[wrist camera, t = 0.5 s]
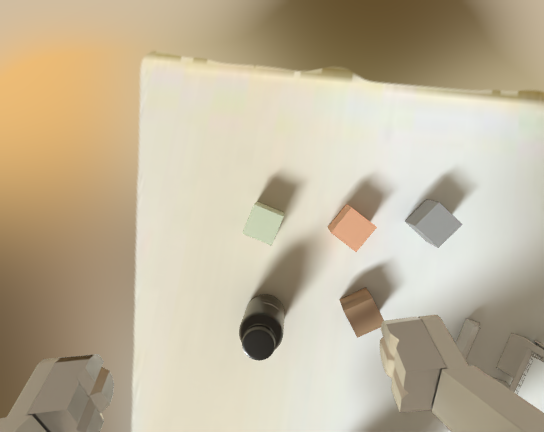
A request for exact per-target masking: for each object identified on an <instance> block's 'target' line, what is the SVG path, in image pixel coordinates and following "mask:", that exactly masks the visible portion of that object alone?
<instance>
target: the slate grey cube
mask: <svg viewBox="0 0 544 432" xmlns="http://www.w3.org/2000/svg"><path fill="white" fill-rule="evenodd" d="M405 222H406V223H407V224H408V225H409V226H410V227H411V228H412V229H413V230H415V231H416V232H417V233H418V234H419V235H420V236H421V237H422V238H423V239H424V240H425V241H426V242H428V243H430V244H432V245H434V246H436V247H437V248H439V247H440V246H441V245H442V244H443V243H444V242H445V241H446V240H447V239H448V238H449V237H450V236H451V235H452V234H453V233H454V232H455V231H456V230H457V229H458V228H459V227H460V226H461V225H462V223H460V222H459V221H458V220H457V219H456V218H455V217H454V216H453V215H452V214H451V213H450V212H449V211H448V210H447V209H446V208H445V207H444V206H443V205H442V204H441V203H440V202H436V201H432V200H428V199H426V200H425V201H424V202H423V203H422V204H421V205H420V206H419V207H418V208H417V209H416V210H415V211H414V212H413V213H412V214H411V215H410V216H409V217H408V218H407V219H406V220H405Z"/></svg>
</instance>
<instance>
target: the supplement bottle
mask: <svg viewBox="0 0 544 432" xmlns="http://www.w3.org/2000/svg"><path fill="white" fill-rule="evenodd" d="M284 315H285V313H284V308H283V305H282V304H281V302H280V301H279V300H278V299H277V298H275V297H273V296H271V295H259V296H256V297H255V298H253V299H252V300H251V301H250V302H249V304H248V306H247V308H246V311H245V314H244V316H243V319H242V322H241V325H240V329H239V336H240V340H241V342H242V346H243V350H244V352H245V354H247V356H249V357H250V358H252V359H255V360H263V359H266V358H268V357H269V356H271V354H272V353H273V351H274V350H275V349H276V348H277V347H278V346H279V345H280V343H281V341H282V338H283V329H284Z"/></svg>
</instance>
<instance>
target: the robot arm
mask: <svg viewBox="0 0 544 432" xmlns="http://www.w3.org/2000/svg"><path fill="white" fill-rule="evenodd" d="M381 331H382V334H383V338H382V339H381V340H380V354H381V360H382V363H383V367H384V370H385V373H386V374H387V375H388V376H389V377H390V378H392V386H391V390H392V393H393V395H394V398H395V401H396V404H397V406H398V409H399V412H400V413H402V412H414V411H427V410H432V413H433V414H434V415H435V416H436V417H437V418H438V419H439V420H440V421H441V422H442V423H443V424H444V425H445V426H446V427H447V428H448V429H449V430H450V431H451V432H544V413H543V412H542V411H540V410H539V409H537V408H536V407H534V406H533V405H531V404H530V403H528V402H527V401H525V400H524V399H523V398H521V397H520V396H518V395H517V394H515V393H514V392H512V391H511V390H509V389H508V388H507V387H505V386H504V385H502V384H501V383H499V382H498V381H496V380H495V379H493V378H492V377H491V376H489V375H488V374H486V373H485V372H483V371H482V370H480V369H479V368H477V367H476V366H469V365H468V364H467V362H466V360H465V359H464V357H463V355H462V353H461V352H460V350H459V348H458V347H457V345H456V343H455V342H454V340H453V338H452V337H451V335H450V333H449V332H448V330H447V328H446V326H445V325H444V323H443V321H442V320H441V318H440V317H439V316H438V315H429V316H421V317H409V318H402V319H394V320H386V321H383V322H382V324H381ZM102 364H103V360H102V358H101V357H100V355H99V354H97V355H85V356H75V357H62V358H53V359H44V360H42V361H41V362H40V363H39V364H38V365H37V366H36V368H35V370H34V372H33V373H32V375H31V377H30V378H29V380H28V382H27V384H26V385H25V387H24V389H23V390H22V392H21V394H20V395H19V397H18V399H17V401H16V402H15V404H14V406H13V408H12V409H11V411H10V413H9V414H8V416H7V417H6V418H1V419H0V432H100V431H101V428H102V425H103V422H104V419H103V416H102V412H103V411H104V410H105V409H106V408H107V407H108V406H109V405H110V402H111V399H112V395H113V388H114V382H113V377H112V375H111V373H110V371H109V370H107V369H105V368H103V367H102Z"/></svg>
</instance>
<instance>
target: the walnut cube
mask: <svg viewBox="0 0 544 432" xmlns="http://www.w3.org/2000/svg"><path fill="white" fill-rule="evenodd" d="M340 302H341V305H342V308H343V310H344V312H345V314H346V316H347V318H348V320H349V322H350V324H351V326H352V328H353V330H354V332H355V334H356V336H357V338H358V337H360V336H362V335H364V334H366V333H369V332H371V331H373V330H375V329H377V328H380V327H381V324H382V322H383V321H384V320H383V318H382V316H381V314H380V312H379V310H378V308H377V306H376V304H375V302H374V300H373V298H372V296H371V295H370V293H369V292H368V290H367V288H366V287H365V288H363V289H361V290H359V291H357V292H355V293H353V294H351V295H348V296H346V297H344V298H342V299H340Z"/></svg>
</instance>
